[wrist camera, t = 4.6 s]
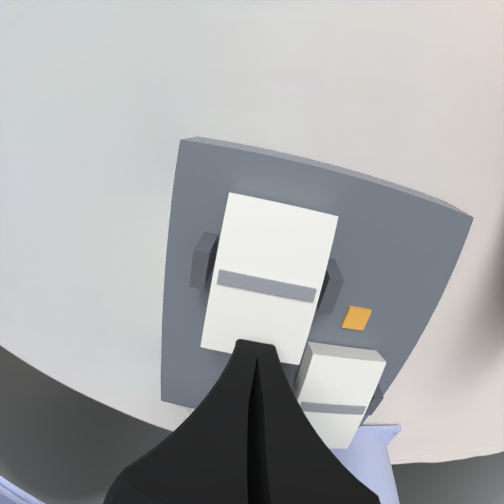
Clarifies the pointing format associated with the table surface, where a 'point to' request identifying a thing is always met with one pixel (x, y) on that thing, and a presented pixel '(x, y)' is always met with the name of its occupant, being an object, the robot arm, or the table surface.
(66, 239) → the table surface
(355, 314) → the console
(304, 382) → the rocker
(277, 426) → the robot arm
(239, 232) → the rocker
